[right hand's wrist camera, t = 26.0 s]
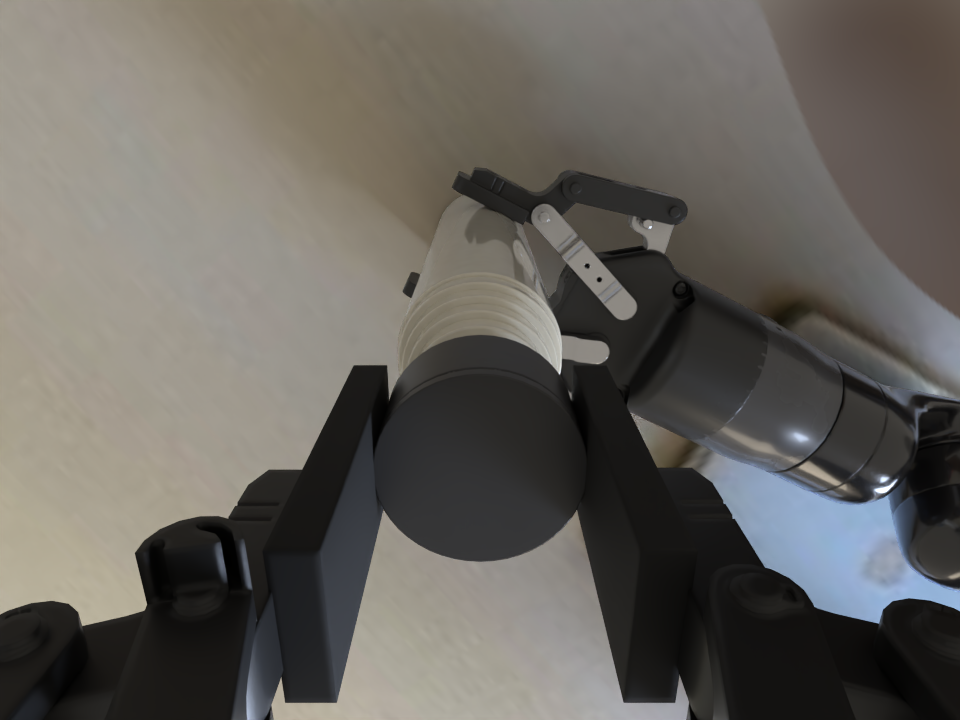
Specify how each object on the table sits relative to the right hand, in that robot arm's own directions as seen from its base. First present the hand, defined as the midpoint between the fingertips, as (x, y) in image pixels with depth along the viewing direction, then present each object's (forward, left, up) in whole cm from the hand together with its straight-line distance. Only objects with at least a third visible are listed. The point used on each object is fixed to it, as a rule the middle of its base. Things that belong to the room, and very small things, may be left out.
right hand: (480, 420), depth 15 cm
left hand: (-2, -2, -18) cm, 18 cm away
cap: (0, 0, +2) cm, 2 cm away
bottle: (0, 0, -24) cm, 24 cm away
